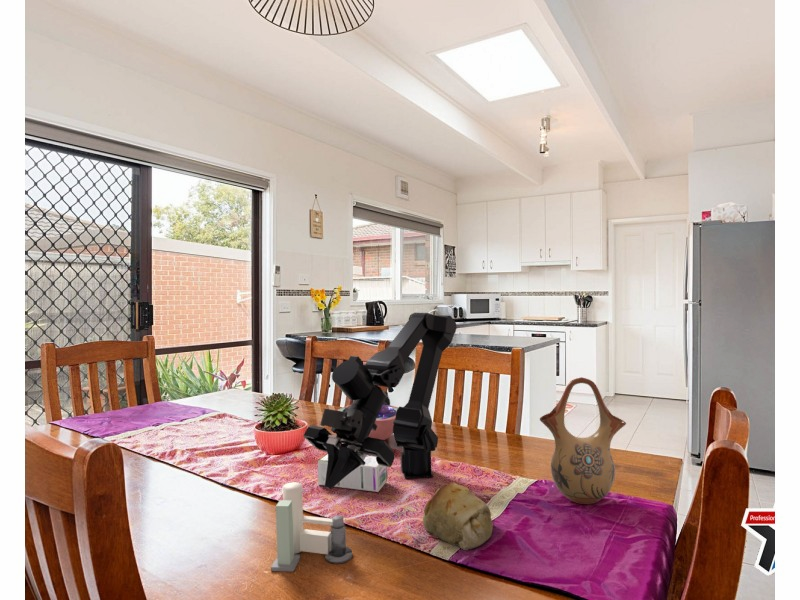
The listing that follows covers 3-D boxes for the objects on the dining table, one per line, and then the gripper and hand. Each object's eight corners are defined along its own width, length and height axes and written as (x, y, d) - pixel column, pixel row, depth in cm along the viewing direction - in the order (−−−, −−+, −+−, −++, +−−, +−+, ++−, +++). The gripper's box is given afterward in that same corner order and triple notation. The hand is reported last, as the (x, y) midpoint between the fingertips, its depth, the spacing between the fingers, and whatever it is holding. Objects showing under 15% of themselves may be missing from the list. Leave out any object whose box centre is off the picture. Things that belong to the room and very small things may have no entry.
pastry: (421, 512, 95) (420, 471, 94) (485, 511, 95) (485, 470, 94) (424, 552, 81) (424, 505, 80) (500, 551, 80) (499, 504, 80)
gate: (347, 549, 81) (345, 486, 81) (340, 560, 78) (338, 495, 78) (289, 542, 84) (288, 481, 83) (280, 552, 81) (279, 489, 80)
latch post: (278, 557, 80) (276, 497, 79) (300, 558, 79) (298, 498, 79) (270, 570, 76) (269, 508, 76) (293, 571, 76) (291, 508, 75)
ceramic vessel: (541, 507, 95) (540, 381, 94) (539, 487, 104) (538, 372, 103) (631, 514, 92) (631, 383, 91) (621, 493, 101) (620, 374, 100)
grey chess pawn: (352, 547, 82) (351, 518, 82) (352, 562, 78) (351, 532, 78) (325, 549, 82) (325, 520, 82) (324, 565, 77) (323, 534, 77)
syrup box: (317, 485, 108) (378, 494, 103) (317, 459, 107) (378, 467, 103) (329, 475, 113) (388, 482, 108) (328, 450, 113) (387, 457, 108)
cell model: (362, 426, 151) (361, 390, 151) (415, 437, 139) (414, 398, 139) (323, 441, 137) (322, 402, 137) (378, 455, 126) (377, 412, 125)
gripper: (308, 385, 97) (266, 457, 88) (383, 396, 86) (345, 479, 78) (335, 414, 104) (300, 484, 95) (409, 427, 93) (376, 507, 85)
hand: (327, 487), depth 88 cm, fingers closed
